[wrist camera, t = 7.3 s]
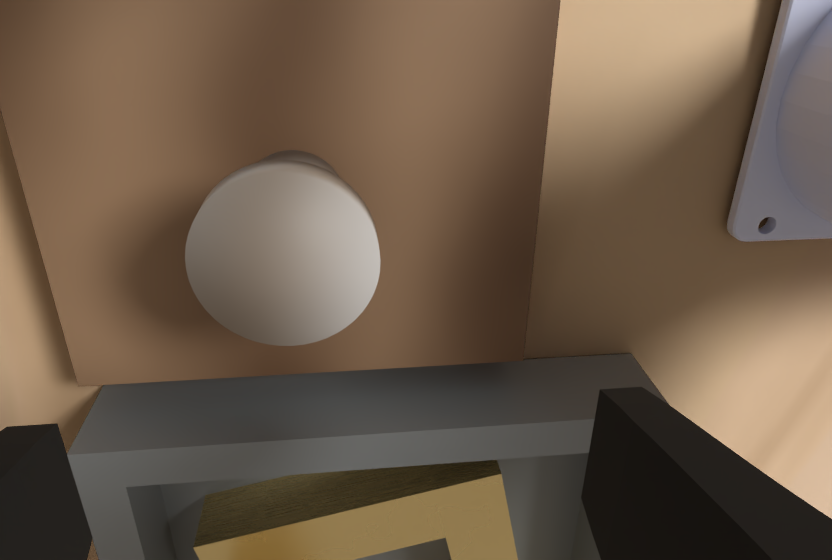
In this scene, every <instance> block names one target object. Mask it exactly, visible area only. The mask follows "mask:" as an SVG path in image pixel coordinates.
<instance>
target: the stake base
mask: <svg viewBox="0 0 832 560" xmlns="http://www.w3.org/2000/svg"><path fill="white" fill-rule="evenodd" d="M559 9H560V0H0V109H1V113H2V117H3V120H4V124H5V127H6V131H7V134H8V138H9V141H10V145H11V149H12V152H13V156H14V159H15V163H16V166H17V170H18V173H19V177H20V181H21V184H22V188H23V191H24V195H25V198H26V202H27V205H28V209H29V213H30V216H31V220H32V223H33V227H34V230H35V234H36V237H37V241H38V245H39V248H40V252H41V255H42V259H43V262H44V266H45V269H46V273H47V277H48V280H49V284H50V287H51V291H52V294H53V298H54V301H55V305H56V309H57V312H58V316H59V319H60V323H61V326H62V330H63V333H64V337H65V341H66V344H67V348H68V351H69V355H70V358H71V362H72V365H73V369H74V373H75V376H76V380H77V383H78V386H95V385H112V384H129V383H147V382H164V381H181V380H199V379H216V378H233V377H251V376H268V375H285V374H303V373H320V372H337V371H355V370H372V369H390V368H407V367H424V366H442V365H459V364H476V363H494V362H511V361H523V357H524V348H525V338H526V328H527V318H528V309H529V299H530V289H531V280H532V270H533V260H534V251H535V241H536V231H537V222H538V212H539V202H540V193H541V183H542V173H543V164H544V154H545V144H546V134H547V125H548V115H549V105H550V96H551V86H552V76H553V67H554V57H555V47H556V38H557V28H558V18H559Z"/></svg>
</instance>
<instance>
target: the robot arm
mask: <svg viewBox="0 0 832 560" xmlns="http://www.w3.org/2000/svg"><path fill="white" fill-rule="evenodd" d="M767 217H768V221H767V222H766V224H765V225H764V226H763V227H762V228H758V226H759V224H760V222H761V221H762V220H763V219H764V218H767ZM727 230H728V232H729V234H731V235H732V236H733V237H735V238H736V239H738V240H739V241H744V242H752V241H778V240H803V239H829V238H832V0H782V3H781V7H780V11H779V15H778V19H777V23H776V27H775V31H774V35H773V39H772V43H771V47H770V52H769V56H768V60H767V64H766V68H765V72H764V76H763V80H762V84H761V88H760V92H759V96H758V100H757V104H756V108H755V112H754V116H753V120H752V124H751V128H750V132H749V136H748V140H747V144H746V148H745V152H744V156H743V161H742V165H741V169H740V173H739V177H738V181H737V185H736V189H735V193H734V197H733V201H732V205H731V209H730V213H729V217H728V221H727ZM581 499H582V502H583V506H584V509H585V512H586V515H587V519H588V522H589V525H590V528H591V531H592V535H593V538H594V541H595V544H596V547H597V549H598V552H599V555H600V558H601V560H832V519H831V518H829V517H828V516H826V515H825V514H823V513H822V512H820V511H819V510H817V509H816V508H814V507H813V506H811V505H810V504H808V503H807V502H805V501H804V500H802V499H801V498H799V497H798V496H796V495H795V494H793V493H792V492H790V491H789V490H788V489H786V488H785V487H783V486H782V485H780V484H779V483H777V482H776V481H774V480H773V479H772V478H770V477H769V476H767V475H766V474H764V473H763V472H762V471H760V470H759V469H757V468H756V467H754V466H753V465H752V464H750V463H749V462H747V461H746V460H745V459H743V458H742V457H740V456H739V455H738V454H736V453H735V452H733V451H732V450H731V449H729V448H728V447H726V446H725V445H724V444H722V443H721V442H720V441H718V440H717V439H715V438H714V437H713V436H711V435H710V434H709V433H707V432H706V431H704V430H703V429H702V428H700V427H699V426H697V425H696V424H695V423H693V422H692V421H691V420H689V419H688V418H686V417H685V416H684V415H682V414H681V413H679V412H678V411H677V410H675V409H674V408H672V407H671V406H670V405H668V404H667V403H665V402H664V401H663V400H661V399H660V398H658V397H657V396H655V395H654V394H652V393H651V392H649V391H648V390H646V389H645V388H643V387H628V388H612V389H600V391H599V397H598V402H597V408H596V414H595V420H594V426H593V431H592V437H591V443H590V449H589V455H588V460H587V466H586V472H585V478H584V484H583V489H582V495H581ZM92 538H93V537H92V534H91V531H90V528H89V524H88V521H87V518H86V515H85V512H84V508H83V505H82V502H81V499H80V495H79V492H78V489H77V486H76V482H75V479H74V476H73V473H72V470H71V466H70V463H69V460H68V457H67V453H66V450H65V447H64V444H63V440H62V437H61V434H60V431H59V428H58V424H44V425H28V426H12V427H6V428H5V429H3V430H2V431H0V560H87V557H88V553H89V550H90V546H91V542H92Z"/></svg>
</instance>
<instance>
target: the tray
mask: <svg viewBox="0 0 832 560" xmlns="http://www.w3.org/2000/svg"><path fill="white" fill-rule="evenodd" d="M628 387H643V388H645V389H646V390H648V391H649V392H651V393H652V394H654V395H655V396H657V397H658V398H660V399H661V400H663V401H664V402H665V403H667V401H666V400H665V399H664V397H663V396H662V395H661V393H660V392H659V390H658V389H657V388H656V386H655V385H654V384H653V382H652V381H651V380H650V378H649V377H648V376H647V374H646V373H645V372H644V370H643V369H642V368H641V366H640V365H639V364H638V362H637V361H636V359H635V358H634V357H633V355H632V354H631V353H628V354H611V355H593V356H576V357H558V358H541V359H523V361H511V362H494V363H476V364H459V365H442V366H424V367H407V368H390V369H372V370H355V371H337V372H320V373H303V374H285V375H268V376H251V377H233V378H216V379H199V380H181V381H164V382H147V383H129V384H112V385H103V387H102V389H101V391H100V393H99V395H98V397H97V398H96V400H95V402H94V404H93V406H92V408H91V410H90V412H89V414H88V415H87V417H86V419H85V421H84V423H83V425H82V427H81V429H80V430H79V432H78V434H77V436H76V438H75V440H74V442H73V444H72V446H71V447H70V449H69V451H68V453H67V457H68V460H69V463H70V466H71V470H72V473H73V476H74V479H75V482H76V486H77V489H78V492H79V495H80V499H81V502H82V505H83V508H84V512H85V515H86V518H87V521H88V524H89V528H90V531H91V534H92V537H93V538H92V539H93V542H94V546H95V549H96V552H97V555H98V559H99V560H200V559H199V558H198V556H197V554H196V552H195V550H194V548H193V546H194V542H195V538H196V534H197V529H198V525H199V521H200V517H201V512H202V508H203V504H204V500H205V495H208V494H212V493H216V492H220V491H224V490H229V489H233V488H237V487H241V486H245V485H249V484H254V483H258V482H262V481H266V480H270V479H275V478H279V477H283V476H287V475H297V474H310V473H324V472H337V471H351V470H364V469H378V468H391V467H405V466H418V465H432V464H445V463H459V462H472V461H486V460H497V462H498V465H499V468H500V471H501V474H502V480H503V485H504V490H505V495H506V500H507V505H508V511H509V516H510V521H511V526H512V531H513V537H514V542H515V547H516V552H517V557H518V560H601V558H600V555H599V552H598V549H597V547H596V544H595V541H594V538H593V535H592V531H591V528H590V525H589V522H588V519H587V515H586V512H585V509H584V506H583V502H582V499H581V495H582V489H583V484H584V478H585V472H586V466H587V460H588V455H589V449H590V443H591V437H592V431H593V426H594V420H595V414H596V408H597V402H598V397H599V391H600V389H612V388H628ZM667 404H668V403H667ZM668 405H669V404H668ZM355 560H452V559H451V556H450V552H449V548H448V544H447V541H446V538H442V539H438V540H434V541H429V542H425V543H421V544H417V545H413V546H409V547H405V548H400V549H396V550H392V551H388V552H384V553H380V554H375V555H371V556H367V557H363V558H359V559H355Z"/></svg>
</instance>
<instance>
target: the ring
mask: <svg viewBox="0 0 832 560" xmlns="http://www.w3.org/2000/svg"><path fill="white" fill-rule="evenodd" d="M442 538H446V541H447V544H448V548H449V552H450V556H451V559H452V560H518V557H517V552H516V547H515V542H514V537H513V531H512V526H511V521H510V516H509V511H508V505H507V500H506V495H505V490H504V485H503V480H502V474H501V471H500V468H499V465H498V462H497V460H486V461H472V462H459V463H445V464H432V465H418V466H405V467H391V468H378V469H364V470H351V471H337V472H324V473H310V474H297V475H287V476H283V477H279V478H275V479H270V480H266V481H262V482H258V483H254V484H249V485H245V486H241V487H237V488H233V489H229V490H224V491H220V492H216V493H212V494H208V495H205V500H204V504H203V508H202V512H201V517H200V521H199V525H198V529H197V534H196V538H195V542H194V546H193V548H194V550H195V552H196V554H197V556H198V558H199V559H200V560H355V559H359V558H363V557H367V556H371V555H375V554H380V553H384V552H388V551H392V550H396V549H400V548H405V547H409V546H413V545H417V544H421V543H425V542H429V541H434V540H438V539H442Z"/></svg>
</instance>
